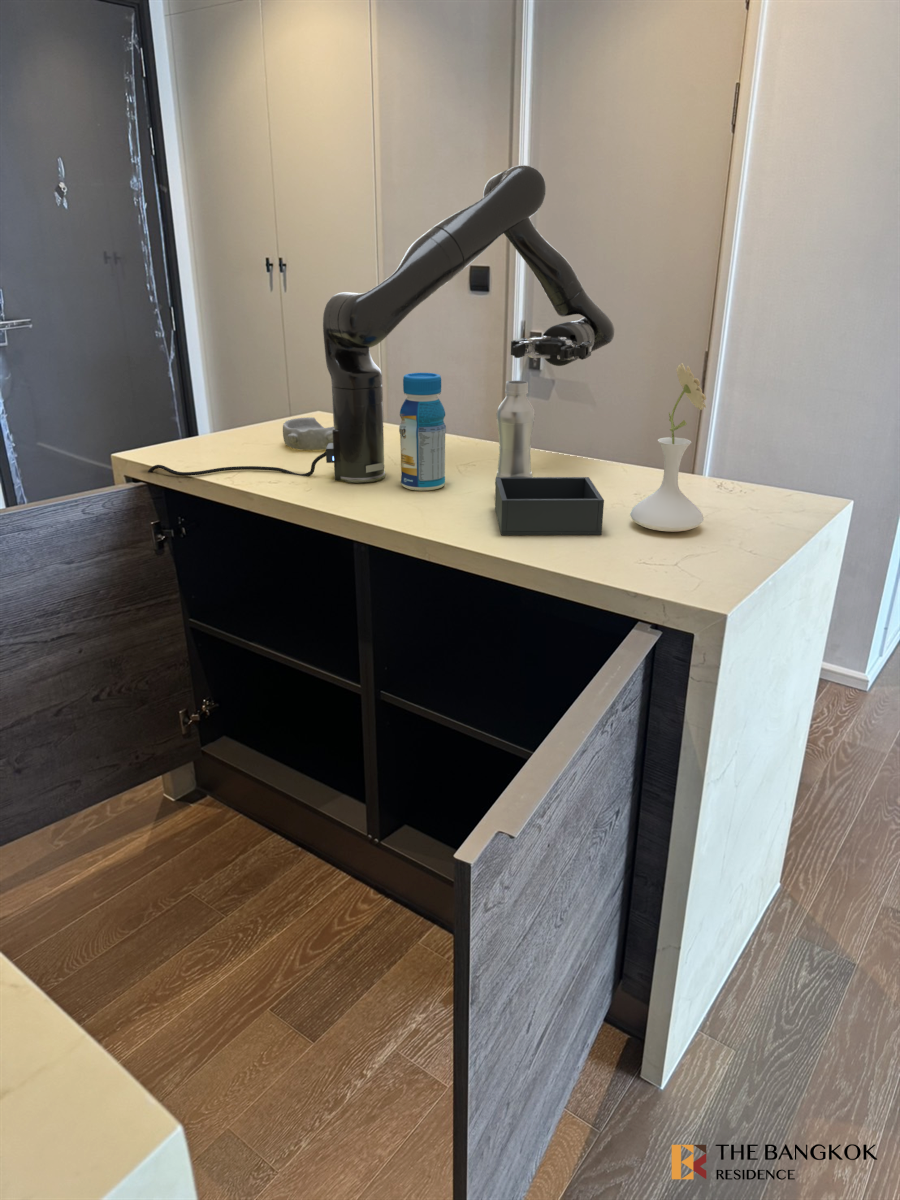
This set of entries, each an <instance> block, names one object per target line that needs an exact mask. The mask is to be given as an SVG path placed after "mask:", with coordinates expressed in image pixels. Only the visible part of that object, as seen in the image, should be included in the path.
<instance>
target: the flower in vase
mask: <svg viewBox="0 0 900 1200" xmlns="http://www.w3.org/2000/svg"><path fill="white" fill-rule="evenodd" d="M675 371H676V374H677V378H678V383H679V385H680V386H681V387H682V391H681V393H680V394H679V396H678V398H677V399H676V401H675V404H674V406H673V407H672V411H671V413H670V412H668V416H669V419H668V421H669V422H670V429H669V431H670V432H671V436H667V437H661V438H657V443H658V444H659V445H660V447H661V450H662V454H663V465H664V466H663V474H662V475H663V476H662V481H661V484H660V486H659V487H658V489H656V490H655V491H654V492H652V493H651V494H649V495H648V496H646V497H645V498H643V499H642V500H640V501H639V502H637V504H635V505H634V506H633V507H632V509H631V511H630V513H629V517H630V518H631V520H632V521H633V523H635V524H637V525H639V526H641V527H643V528H646V529H649V530H654V531H660V532H669V533H670V532H672V533H673V532H685V531H689V530H693V529H696V528H698V527H700V526H701V524H703V522H704V516H703V513H702V511H701V510H700V509H699V507H698V506H697V505H696V504H695V503H694V502H693V501H692V500H691V499H689V497H687V495H685V494H684V493H683V492H682V491H681V489H680V486H679V472H680V467H681V462H682V459H683V456H684V453H685V452H686V450H687V448H689V446H690V445H691V444H692V441H691V440H690V439H688V438H684V437H676V436H675V431H677V430H679V429H681V428H682V427H685V426H686V425H687V422H686V420H685V419H683V420H682V421H681V422H680V423H679V424H677V425H675V421H674V415H675V411H676V408H677V407H678V405H679V403H680V401H681V399H682V397H683V396H684V395H686V397H687V399H689V401H690V403H691V404H692V405H694V408H696V409H698V410H699V411H702V410H704V409H706V408H707V405H706V404H705V402H704V401H706V400H707V397H706V395H705V393H703V389H702V388H701V387H700V385H701V381H700V380H699V378H698V377H695V375H694V373H693V372H692V370H691V367H690V366H689V365H687V366H686V367H685V364H684V363H683V362H681V363H680V364H678V365H676V368H675Z"/></svg>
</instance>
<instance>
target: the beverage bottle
mask: <svg viewBox="0 0 900 1200" xmlns="http://www.w3.org/2000/svg"><path fill="white" fill-rule="evenodd" d="M402 387H403V388H402V389H403V390H402V391H403V394H404V396H406V398H405V399H404V400H403V403H402V405H401V407H400V410H399V417H400V419H401V422H400V424H399V428H398V432H399V437H400V438H399V441H400V443H399V445H400V484H401V486H402V487H404V488H405V489H407V490H411V491H420V492H423V491H425V492H427V491H434V490H438V489H441V488H443V487H444V486H445V485H446V434H447V426H446V423H445V420H444V419H445V417H446V410H445V407H444V404H443V403H442V401H441V399H440V398H439V397H438V396H439V395H441V393H442V376H441V375H440V374H438V373H433V372H411V373H406V374H404V375H403V378H402Z"/></svg>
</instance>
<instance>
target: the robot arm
mask: <svg viewBox="0 0 900 1200" xmlns="http://www.w3.org/2000/svg"><path fill="white" fill-rule="evenodd" d="M546 185H547V184H546V180H545V177H544V176H543V174H542V172H540V171H539V170H538V168H535V167H533V166H531V165H525V164H521V165H515V166H512V167H510V168H507V169H505V170H503V171H501V172H499V173H497V174H495V175H494V176H492V177H490V178H489V179H488V181H487V182H486V183H485V185H484V189H483V194H482V195H483V197H482V198H480V199H479V200H478V201H476V202H474V203H473V204H471V205H468V206H467V207H465V208H463V209H460V210H459V211H457V212H455V213H453V214H452V215H450V216H448V217H446V218H445V219H443V220H441V221H440V222H439V223H438V222H437V224H435V225H434V226H433V227H431V228H430V229H429V230H427V231H426V232H424V234H422V235H421V236H420V237H418V238H417V239H416V240H415V241H414V242H413V243H412V244H411V245H410V246H409V247H408V249H407V250H406V251H405V253H404V256H403V258H402V259H401V261H400V263H399V265H398V267H397V268H396V270H395V271H394V272H393V273H392V274H391V275H390V276H388V277H387V278H386V279H384V280H383V281H382V282H380V283H379V284H377V285H376V286H375V287H372V288H371V289H370V290H368V291H366V292H362V293H361V292H350V291H344V292H338V293H336V294H334V295H332V296H331V297H330V298H329V300H327V302H326V304H325V307H324V310H323V315H322V334H323V345H324V355H325V364H326V368H327V371H328V373H329V375H330V380H331V381H330V382H331V396H332V397H331V400H332V419H333V427H334V429H333V431H332V434H333V443H328V445H327V447H326V449H325V452H323V453H321V454H319V455H318V456H316V457H315V458H314V460H313V461H312V463H311V466H310V471H308V472H306V473H296V472H294V471H291V470H287V469H285V468H281V467H276V466H261V465H260V466H259V465H240V466H225V467H224V466H223V467H218V468H210V469H205V470H200V471H199V470H198V471H177V470H174V469H171V468H169V467H168V466H165V465H163V464H155V465H153V466H151V467H150V468H148V470H147V473H153V472H154V471H155V470H157V469H160V470H163V471H166V472H167V473H170V474H172V475H175V476H182V477H190V476H191V477H192V476H201V475H209V474H213V473H219V472H220V473H221V472H228V471H254V470H255V471H273V472H279V473H283V474H287V475H292V476H293V475H294V476H301V477H311V476H312V475H313V474H314V472H315V469H316V464H317V463H318V462H319V461H320V460H322V459H323V458H325V462H326V464H333V471H334V481H336V482H345V483H354V484H362V483H363V484H364V483H373V482H377V481H381V480H383V479H384V478H385V477H386V470H385V467H386V465H385V445H384V444H385V441H384V440H385V437H384V405H383V404H384V403H383V402H384V401H383V374H382V370H381V369H380V367H379V366H378V365H377V364H376V363H375V362H374V360H373V358H372V354H371V351H370V350H371V348H373V347H375V346H377V345H379V344H380V343H381V342H383V340H384V339H385V338H387V337H388V336H389V335H390V334H391V333H392V332H393V331H394V330H395V329H396V328H397V327H398V325H400V324H401V322H402V321H403V320H404V319H406V317H407V316H408V315H409V314H411V312H412V311H413V310H414V309H415V308H417V307H418V306H420V305H421V304H422V303H424V302H425V301H426V300H428V298H430V297H431V296H432V295H434V294H435V293H436V292H437V291H438V290H439V289H441V288H442V287H443V286H445V285H446V284H448V283H449V282H451V280H453V279H454V278H455V277H456V276H457V275H459V274H460V273H461V272H463V271H464V270H465V269H466V268H467V267H468V266H469V265H470V264H471V263H473V262H474V261H475V260H476V259H478V257H479V256H481V254H483V253H484V252H485V251H486V250H487V249H488V248H489V247H491V245H492V244H493V243H494V242H495V241H496V240H498V239H499V238H500V237H501V236H502V235H504V236H505V238H507V240H508V241H509V243H510V244H511V245H512V246H513V248H514V249H515V251H516V252H517V253H518V254H519V256H520V257H521V258H522V259H523V261H524V262H525V263H526V265H527V266H528V268H529V269H530V270H531V272H532V273H533V275H534V276H535V278H536V279H537V281H538V282H539V284H540V286H541V288H542V290H543V291H544V294H545V295H546V297H547V299H548V300H549V303H550V304H551V306H552V308H553V310H554V311H555V313H556V315H558V316H560V317H562V318H563V317H570V316H574V315H580V316H582V318H580V319H579V320H573V321H565V322H561V323H558V324H555V325H551V326H550V327H549V328H547V329H546V330H545V331H544V332H543V334H542V335H541V337H532V338H531V337H530V338H529V339H528V338H527V337H522V338H518V339H514V340H511V341H510V356H513V357H514V358H515V359H519V358H523V357H528V358H531V359H539V358H541V359H544V360H545V361H546V362H547V363H548V364H550V365H552V366H556V367H563V366H566V365H569V364H571V363H573V362H575V361H578V360H586V359H588V358H589V357H591V356H592V353H593V352H595V351H597V350H599V349H601V348H603V347H605V346H607V345H609V344H610V343H611V342H612V341H613V340H614V337H615V326H614V324H613V321H612V320H611V318H610V316H609V315H607V314H606V312H604V311H603V310H602V308H601V307H600V306H599V305H598V304H596V303H595V301H594V300H593V299H592V298H591V297H590V295H589V294H588V293H587V291H585V288H584V287H583V285H582V282H581V281H580V279H579V277H578V275H577V273H576V272H575V270H574V269H573V266H572V265H571V264H570V262H569V261H568V260H567V258H565V257H564V256H563V255H562V254H561V252H559V251H558V250H557V249H556V248H554V247H553V245H551V244H550V243H549V242H548V241H547V239H545V238H544V236H542V235H541V233H540V232H539V231H538V229H537V228H536V227H535V225H534V223H533V221H532V220H531V217H532V216H534V215H535V214H537V213H538V211H539V210H540V208H542V205H543V203H544V201H545V199H546V194H547V186H546ZM158 637H159V643H160V644H164V636H163V635H159V636H158Z"/></svg>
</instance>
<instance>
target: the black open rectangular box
mask: <svg viewBox="0 0 900 1200" xmlns="http://www.w3.org/2000/svg"><path fill="white" fill-rule="evenodd" d="M495 479H496V484H495V483H494V487H495V488H494V491H495V493H494V511H495V515H496V520H497V524H498V529H499V532H500V535H501V536H602V534H603V519H604V508H605V506H604V505H605V500H604V498H603V496H602V494H600V492H599V490H598V488H597V487H596V486H595V484H594V483H593V481H592V479H591V478H590V476H533V477H501V478H500V477H496V476H495Z"/></svg>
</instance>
